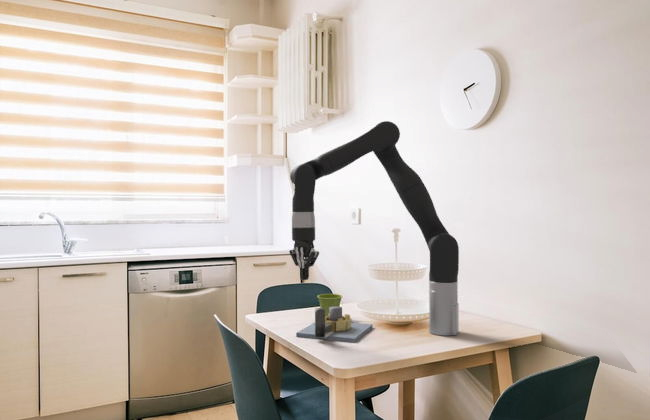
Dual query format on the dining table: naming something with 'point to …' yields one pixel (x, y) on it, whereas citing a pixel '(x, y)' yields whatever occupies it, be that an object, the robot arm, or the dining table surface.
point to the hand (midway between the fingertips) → (304, 279)
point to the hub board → (348, 335)
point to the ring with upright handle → (329, 323)
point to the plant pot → (329, 301)
